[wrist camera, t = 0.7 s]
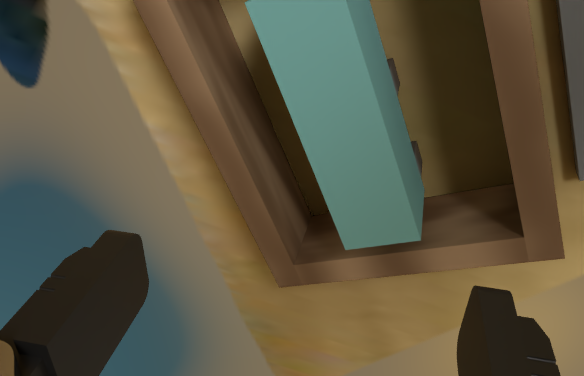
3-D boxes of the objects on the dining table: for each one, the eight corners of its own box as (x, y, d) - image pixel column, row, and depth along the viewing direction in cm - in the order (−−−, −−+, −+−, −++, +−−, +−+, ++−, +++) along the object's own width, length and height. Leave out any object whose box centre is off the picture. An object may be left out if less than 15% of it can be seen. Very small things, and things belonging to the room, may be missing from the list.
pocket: (482, -228, 21) (492, -246, 17) (549, 201, 32) (564, 258, 27) (156, -71, 28) (104, -56, 24) (298, 237, 39) (279, 287, 34)
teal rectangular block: (354, -52, 24) (336, -31, 20) (424, 189, 30) (420, 240, 26) (275, -22, 25) (244, 2, 21) (357, 200, 32) (345, 250, 28)
